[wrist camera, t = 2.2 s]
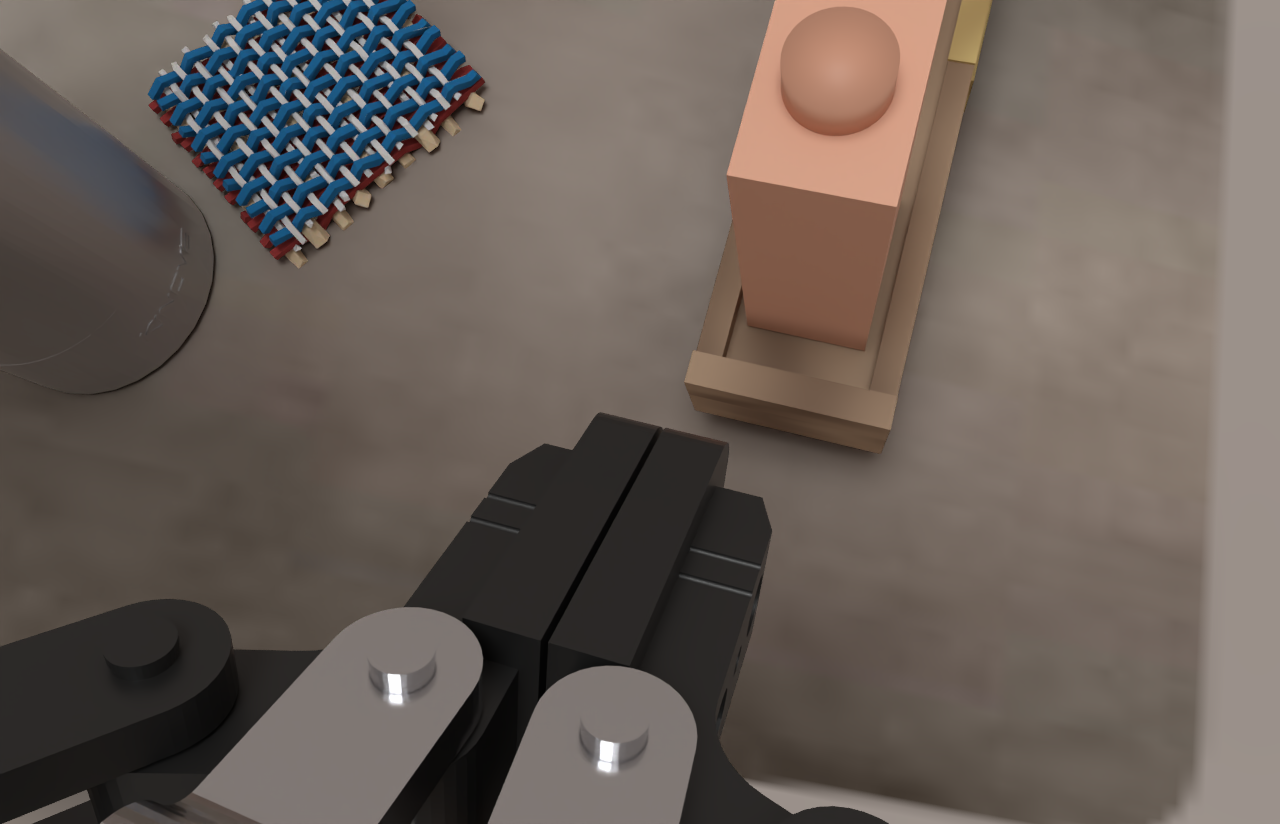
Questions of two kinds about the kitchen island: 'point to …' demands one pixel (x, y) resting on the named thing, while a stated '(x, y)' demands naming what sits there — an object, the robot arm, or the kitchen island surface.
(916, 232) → the beam
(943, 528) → the kitchen island surface
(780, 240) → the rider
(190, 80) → the woven mat
